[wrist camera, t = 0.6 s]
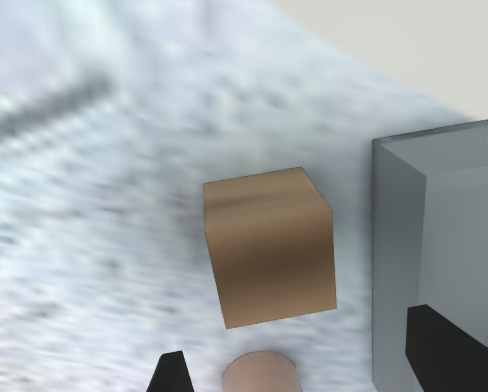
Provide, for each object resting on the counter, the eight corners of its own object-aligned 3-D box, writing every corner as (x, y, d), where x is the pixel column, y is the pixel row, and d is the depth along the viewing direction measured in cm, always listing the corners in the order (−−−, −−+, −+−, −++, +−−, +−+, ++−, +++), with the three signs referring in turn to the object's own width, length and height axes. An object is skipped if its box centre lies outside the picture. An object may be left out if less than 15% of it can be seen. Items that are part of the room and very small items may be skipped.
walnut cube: (307, 248, 21) (336, 308, 17) (220, 264, 21) (226, 329, 17) (300, 165, 19) (331, 209, 15) (203, 182, 19) (204, 232, 15)
